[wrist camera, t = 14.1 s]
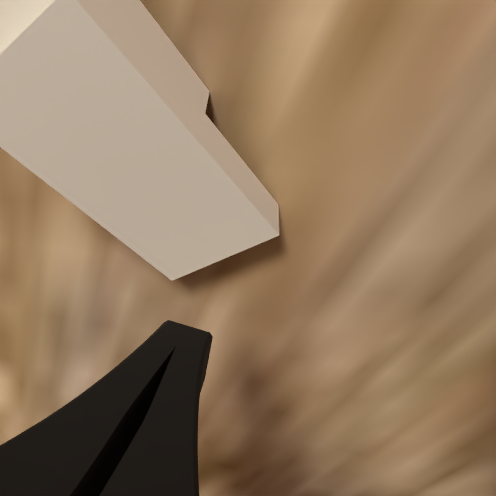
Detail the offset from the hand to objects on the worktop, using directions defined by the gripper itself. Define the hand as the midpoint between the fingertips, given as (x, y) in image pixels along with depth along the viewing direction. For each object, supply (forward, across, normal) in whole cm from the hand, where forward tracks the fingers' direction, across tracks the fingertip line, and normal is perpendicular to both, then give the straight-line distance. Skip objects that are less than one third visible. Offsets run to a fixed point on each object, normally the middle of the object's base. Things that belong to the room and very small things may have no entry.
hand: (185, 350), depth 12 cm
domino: (+5, 0, 0) cm, 5 cm away
